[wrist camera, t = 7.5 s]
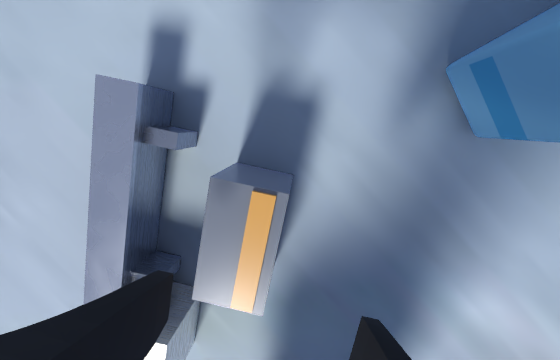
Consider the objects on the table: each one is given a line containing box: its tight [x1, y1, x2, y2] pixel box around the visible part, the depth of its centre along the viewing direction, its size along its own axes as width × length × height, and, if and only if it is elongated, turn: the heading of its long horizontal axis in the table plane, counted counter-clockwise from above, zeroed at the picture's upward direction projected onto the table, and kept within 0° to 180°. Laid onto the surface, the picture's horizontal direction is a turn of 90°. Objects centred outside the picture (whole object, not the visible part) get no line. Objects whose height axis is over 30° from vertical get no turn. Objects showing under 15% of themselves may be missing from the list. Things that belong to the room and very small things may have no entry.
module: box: [192, 163, 293, 316], centre depth 16 cm, size 7×4×6 cm, turn 169°
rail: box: [84, 74, 200, 360], centre depth 17 cm, size 19×6×6 cm, turn 169°
